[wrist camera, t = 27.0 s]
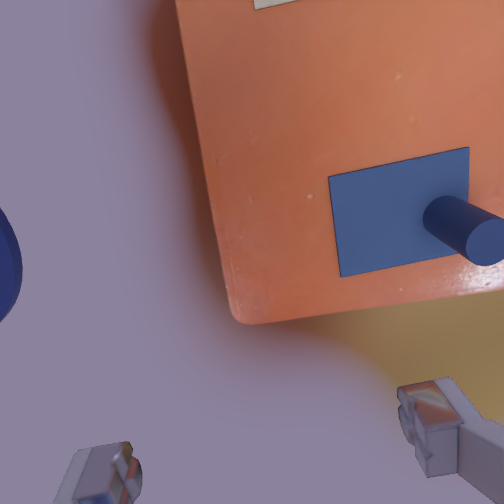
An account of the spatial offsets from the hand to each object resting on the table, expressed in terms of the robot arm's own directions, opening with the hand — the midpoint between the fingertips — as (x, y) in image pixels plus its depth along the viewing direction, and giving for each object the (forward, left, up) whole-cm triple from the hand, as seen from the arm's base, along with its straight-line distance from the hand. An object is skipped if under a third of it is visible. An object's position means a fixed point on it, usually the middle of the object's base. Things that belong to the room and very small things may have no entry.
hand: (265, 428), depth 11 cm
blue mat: (+18, -8, -34) cm, 39 cm away
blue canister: (+23, -9, -34) cm, 42 cm away
